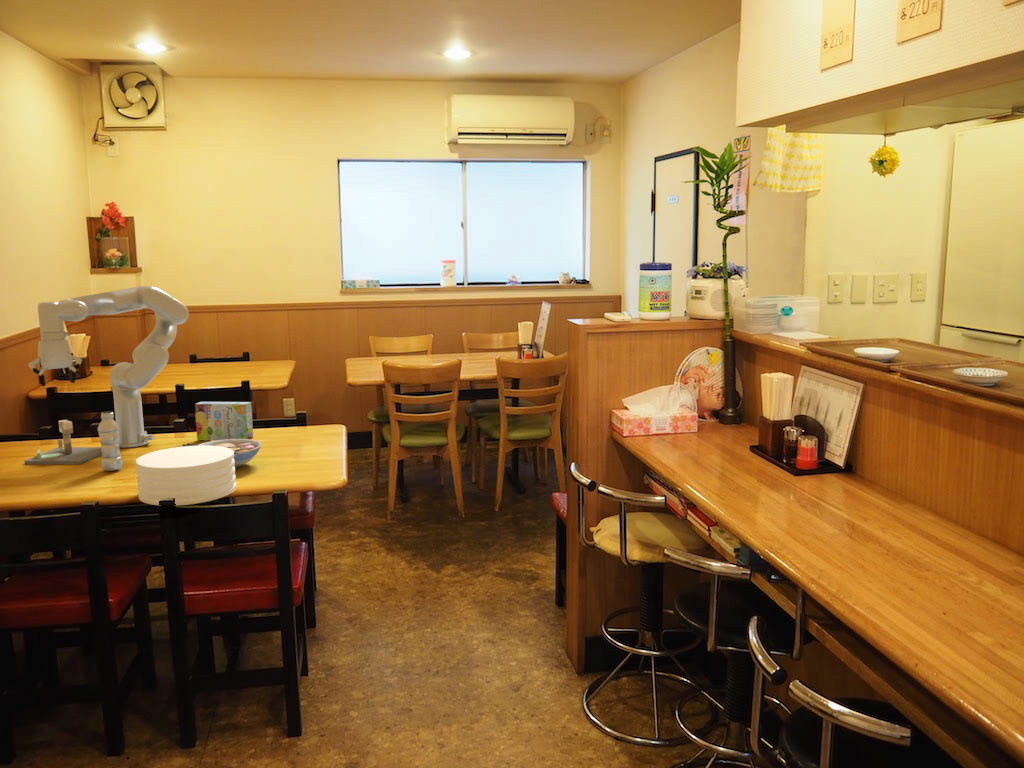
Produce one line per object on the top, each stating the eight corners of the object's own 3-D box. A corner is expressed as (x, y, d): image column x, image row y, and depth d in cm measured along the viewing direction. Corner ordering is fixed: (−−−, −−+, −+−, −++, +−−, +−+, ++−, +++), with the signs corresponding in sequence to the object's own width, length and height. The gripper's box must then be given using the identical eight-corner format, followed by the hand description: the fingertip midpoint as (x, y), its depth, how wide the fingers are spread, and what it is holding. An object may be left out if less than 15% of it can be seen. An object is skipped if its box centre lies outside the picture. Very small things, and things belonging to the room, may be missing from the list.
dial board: (110, 450, 313) (109, 442, 312) (80, 464, 293) (79, 455, 293) (58, 450, 314) (57, 442, 314) (24, 464, 294) (23, 455, 294)
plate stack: (135, 487, 265) (132, 452, 263) (228, 475, 277) (226, 441, 275) (142, 511, 240) (139, 472, 238) (243, 497, 253) (241, 460, 251)
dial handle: (75, 453, 302) (72, 421, 300) (67, 455, 301) (64, 423, 299) (64, 449, 310) (60, 417, 308) (56, 450, 308) (53, 419, 306)
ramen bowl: (279, 464, 291) (278, 440, 289) (226, 480, 271) (225, 455, 270) (229, 455, 303) (227, 433, 302) (175, 470, 284) (173, 446, 282)
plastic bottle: (115, 473, 281) (109, 414, 277) (97, 472, 282) (91, 414, 279) (127, 468, 287) (122, 411, 284) (110, 467, 288) (104, 410, 285)
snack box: (254, 439, 329) (251, 401, 326) (247, 442, 323) (245, 404, 321) (203, 438, 332) (200, 400, 329) (196, 441, 326) (193, 403, 324)
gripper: (76, 333, 306) (80, 380, 309) (22, 338, 295) (28, 386, 298) (82, 335, 301) (87, 382, 304) (28, 339, 289) (33, 388, 292)
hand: (58, 384), depth 301 cm, fingers open, 9 cm apart
